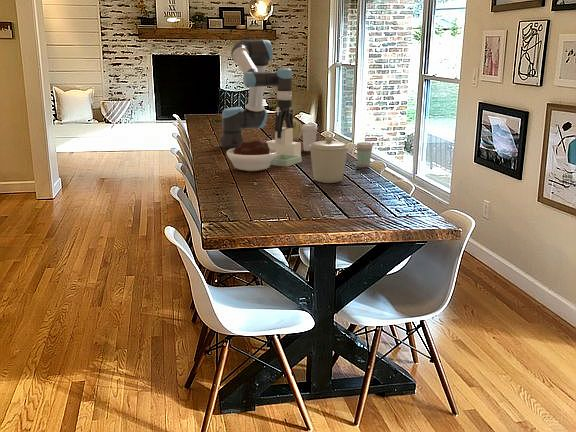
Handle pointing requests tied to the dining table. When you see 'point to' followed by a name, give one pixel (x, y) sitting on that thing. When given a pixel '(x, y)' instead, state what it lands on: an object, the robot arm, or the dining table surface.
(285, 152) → the ticket bar
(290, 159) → the stub tray
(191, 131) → the dining table surface
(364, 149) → the coffee cup
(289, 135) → the stub
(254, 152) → the white serving bowl
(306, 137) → the coffee cup
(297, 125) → the cantaloupe
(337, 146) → the canister
